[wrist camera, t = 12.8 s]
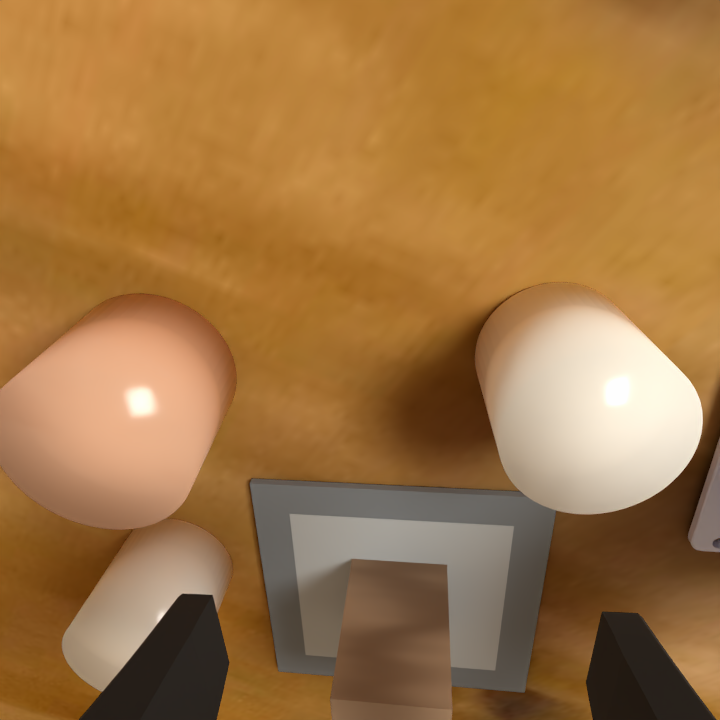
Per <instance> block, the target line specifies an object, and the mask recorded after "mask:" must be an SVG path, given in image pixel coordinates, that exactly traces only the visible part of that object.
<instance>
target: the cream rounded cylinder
mask: <svg viewBox="0 0 720 720" xmlns="http://www.w3.org/2000/svg"><path fill="white" fill-rule="evenodd" d="M475 367H476V372H477V376H478V380H479V383H480V387H481V390H482V394H483V398H484V401H485V405H486V409H487V412H488V416H489V420H490V423H491V427H492V430H493V434H494V438H495V441H496V445H497V449H498V452H499V456H500V460H501V463H502V465H503V468H504V470H505V472H506V474H507V476H508V477H509V479H510V480H511V482H512V483H513V484H514V485H515V486H516V488H517V489H519V490H520V491H521V492H522V493H523V494H524V495H525V496H527V497H528V498H530V499H531V500H533V501H535V502H537V503H538V504H540V505H542V506H545V507H548V508H550V509H553V510H557V511H561V512H565V513H573V514H601V513H607V512H613V511H617V510H621V509H625V508H628V507H630V506H633V505H636V504H638V503H640V502H642V501H644V500H647V499H649V498H650V497H652V496H654V495H655V494H657V493H658V492H660V491H661V490H663V489H664V488H665V487H667V486H668V485H669V484H670V483H672V482H673V481H674V480H675V479H676V478H677V477H678V476H679V475H680V474H681V472H682V471H683V470H684V469H685V467H686V466H687V465H688V463H689V462H690V460H691V458H692V457H693V455H694V453H695V451H696V449H697V446H698V444H699V440H700V437H701V433H702V425H703V415H702V408H701V403H700V399H699V397H698V395H697V392H696V390H695V388H694V387H693V385H692V384H691V382H690V381H689V379H688V378H687V377H686V376H685V375H684V374H683V373H682V372H681V371H680V370H679V369H678V368H677V367H676V366H675V365H674V364H673V363H672V362H671V361H670V360H669V359H668V358H667V357H666V356H665V355H664V354H663V353H662V352H661V351H660V350H659V349H658V348H657V347H656V346H655V345H654V344H653V343H652V342H651V341H650V340H649V339H648V338H647V337H646V336H645V335H644V334H643V333H642V332H641V331H640V330H639V329H638V328H637V327H636V326H635V325H634V324H633V323H632V322H631V321H630V320H629V319H628V317H627V316H626V315H625V314H624V313H623V312H622V311H621V310H620V309H619V308H618V307H617V306H616V305H615V304H614V303H613V302H612V301H610V300H609V299H608V298H607V297H606V296H604V295H603V294H601V293H600V292H598V291H596V290H594V289H592V288H589V287H587V286H584V285H580V284H576V283H568V282H553V283H545V284H541V285H537V286H533V287H530V288H528V289H525V290H523V291H521V292H519V293H517V294H515V295H513V296H512V297H510V298H509V299H507V300H506V301H505V302H503V303H502V304H501V305H500V306H499V307H498V308H497V309H496V310H495V311H494V312H493V313H492V314H491V315H490V317H489V318H488V320H487V321H486V322H485V324H484V326H483V328H482V330H481V332H480V334H479V337H478V340H477V344H476V348H475Z"/></svg>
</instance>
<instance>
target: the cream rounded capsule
mask: <svg viewBox="0 0 720 720" xmlns="http://www.w3.org/2000/svg"><path fill="white" fill-rule="evenodd" d="M232 574H233V566H232V561H231V558H230V556H229V554H228V552H227V550H226V549H225V547H224V546H223V545H222V544H221V543H220V541H219V540H217V539H216V538H215V537H214V536H213V535H212V534H210V533H209V532H207V531H206V530H204V529H202V528H200V527H198V526H196V525H194V524H191V523H189V522H185V521H182V520H176V519H163V520H161V521H159V522H157V523H155V524H152V525H149V526H146V527H140V528H135V529H134V530H133V531H132V532H131V533H130V535H129V536H128V538H127V539H126V541H125V542H124V544H123V545H122V547H121V548H120V550H119V552H118V553H117V555H116V556H115V558H114V559H113V561H112V562H111V564H110V565H109V567H108V568H107V570H106V571H105V573H104V574H103V576H102V577H101V579H100V580H99V582H98V583H97V585H96V586H95V588H94V589H93V591H92V592H91V594H90V595H89V597H88V598H87V600H86V601H85V603H84V604H83V606H82V607H81V609H80V610H79V612H78V614H77V615H76V617H75V618H74V620H73V621H72V623H71V624H70V626H69V627H68V629H67V630H66V632H65V634H64V636H63V639H62V650H63V654H64V657H65V659H66V661H67V662H68V664H69V666H70V667H71V668H72V670H73V671H74V672H75V673H76V674H77V675H78V676H79V677H80V678H81V679H83V680H84V681H85V682H87V683H88V684H89V685H91V686H92V687H94V688H96V689H97V690H99V691H101V692H103V691H104V689H105V688H106V687H107V686H108V685H109V683H110V682H111V681H112V680H113V679H114V677H115V676H116V675H117V674H118V673H119V671H120V670H121V669H122V668H123V667H124V665H125V664H126V663H127V662H128V660H129V659H130V658H131V657H132V655H133V654H134V653H135V652H136V650H137V649H138V648H139V647H140V645H141V644H142V643H143V642H144V640H145V639H146V638H147V637H148V635H149V634H150V633H151V631H152V630H153V629H154V628H155V626H156V625H157V624H158V622H159V621H160V620H161V618H162V617H163V616H164V615H165V613H166V612H167V611H168V609H169V608H170V607H171V605H172V604H173V603H174V602H175V600H176V599H177V598H178V597H179V596H180V595H181V594H182V593H183V594H206V595H213V598H214V602H215V606H216V610H217V613H218V610H219V608H220V605H221V603H222V601H223V598H224V596H225V593H226V591H227V588H228V586H229V583H230V581H231V578H232Z"/></svg>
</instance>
